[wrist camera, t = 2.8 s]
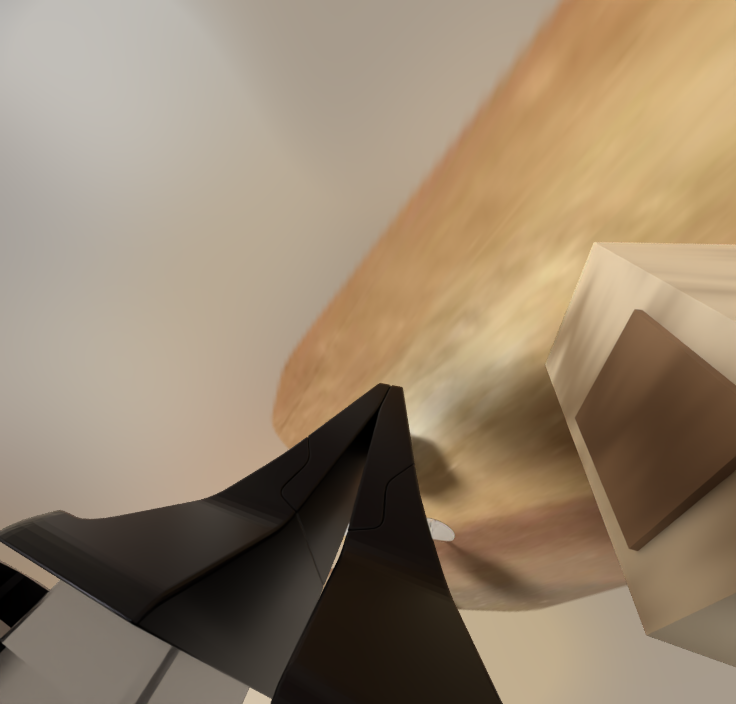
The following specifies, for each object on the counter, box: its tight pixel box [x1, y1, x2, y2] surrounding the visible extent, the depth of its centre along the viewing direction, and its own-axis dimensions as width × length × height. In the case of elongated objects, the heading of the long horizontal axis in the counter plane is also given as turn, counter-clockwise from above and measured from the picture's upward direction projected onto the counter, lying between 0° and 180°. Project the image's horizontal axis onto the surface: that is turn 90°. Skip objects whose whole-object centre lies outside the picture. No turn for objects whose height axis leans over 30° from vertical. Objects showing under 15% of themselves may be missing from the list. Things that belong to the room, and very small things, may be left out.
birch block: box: [545, 242, 736, 667], centre depth 9 cm, size 7×5×12 cm
